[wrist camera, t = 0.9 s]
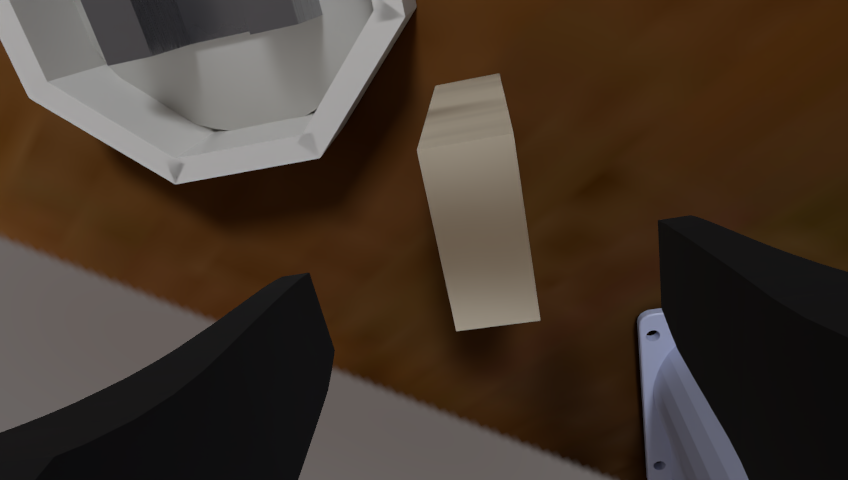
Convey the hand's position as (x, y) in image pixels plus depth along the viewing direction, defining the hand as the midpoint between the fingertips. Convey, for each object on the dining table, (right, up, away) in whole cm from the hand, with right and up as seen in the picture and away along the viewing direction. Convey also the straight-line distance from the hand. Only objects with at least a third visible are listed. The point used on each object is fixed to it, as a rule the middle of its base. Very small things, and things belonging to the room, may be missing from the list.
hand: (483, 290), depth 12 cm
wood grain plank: (+1, +4, +9) cm, 10 cm away
